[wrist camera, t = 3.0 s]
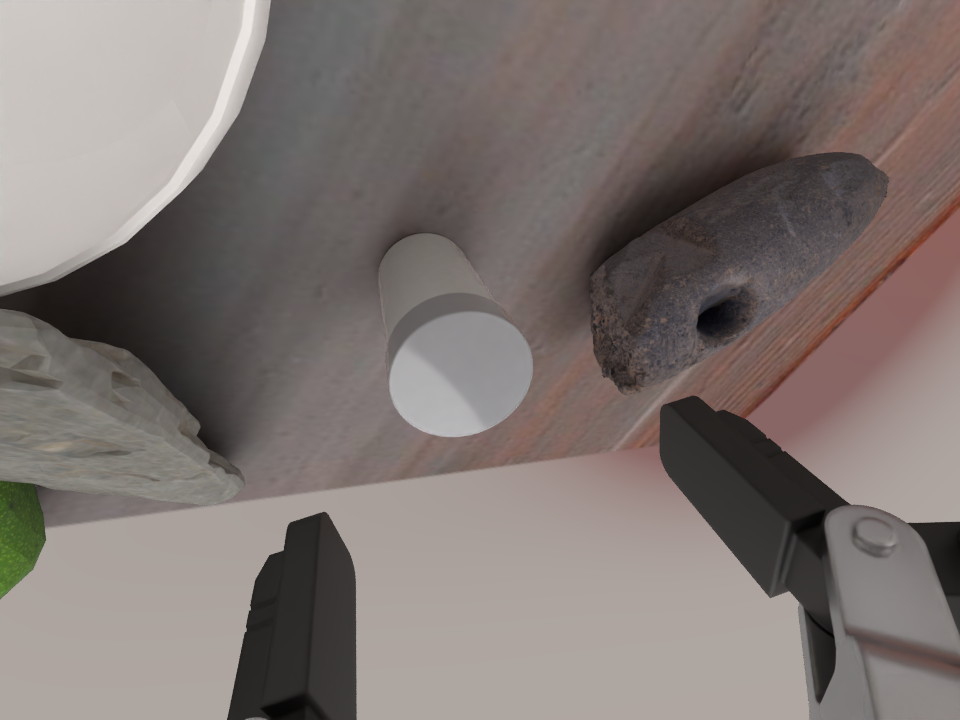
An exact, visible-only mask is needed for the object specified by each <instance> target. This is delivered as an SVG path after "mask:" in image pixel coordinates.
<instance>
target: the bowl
mask: <svg viewBox="0 0 960 720" xmlns="http://www.w3.org/2000/svg"><path fill="white" fill-rule="evenodd" d="M270 4H271V0H0V297H2V296H5V295H9V294H12V293H15V292H19V291H22V290H26V289H29V288H33V287H36V286H39V285H43V284H46V283H50V282H53V281H57V280H58V279H60V278H62V277H64V276H66V275H68V274H69V273H71V272H73V271H75V270H77V269H79V268H80V267H82V266H84V265H86V264H88V263H90V262H91V261H93V260H95V259H97V258H99V257H101V256H103V255H104V254H106V253H108V252H110V251H112V250H114V249H115V248H117V247H119V246H121V245H123V244H125V243H126V242H127V241H128V240H129V239H131V238H132V237H133V236H134V235H135V234H136V233H137V232H138V231H139V230H140V229H141V228H142V227H144V226H145V225H146V224H147V223H148V222H149V221H150V220H151V219H152V218H153V217H154V216H156V215H157V214H158V213H159V212H160V211H161V210H162V209H163V208H164V207H165V206H166V205H168V204H169V203H170V202H171V201H172V200H173V199H174V198H175V197H176V196H177V195H178V194H180V193H181V192H182V191H183V190H184V189H185V188H186V187H187V185H188V184H189V183H190V182H191V181H192V180H193V179H194V178H195V177H196V176H197V175H198V174H199V173H200V172H201V171H202V170H203V168H204V166H205V165H206V163H207V162H208V160H209V159H210V157H211V156H212V154H213V153H214V151H215V150H216V148H217V147H218V145H219V143H220V142H221V140H222V139H223V137H224V136H225V134H226V133H227V131H228V130H229V128H230V127H231V125H232V124H233V122H234V120H235V119H236V117H237V116H238V114H239V113H240V110H241V107H242V105H243V102H244V99H245V96H246V93H247V91H248V88H249V85H250V82H251V79H252V77H253V74H254V71H255V68H256V65H257V63H258V60H259V57H260V54H261V51H262V49H263V46H264V43H265V40H266V33H267V26H268V18H269V11H270Z"/></svg>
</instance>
